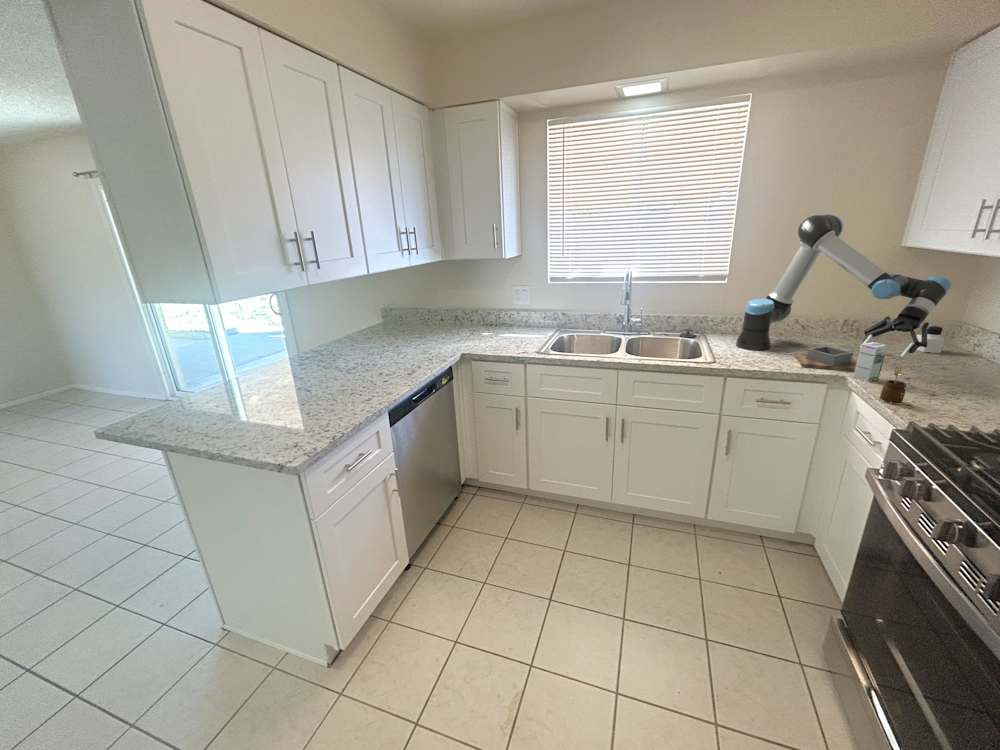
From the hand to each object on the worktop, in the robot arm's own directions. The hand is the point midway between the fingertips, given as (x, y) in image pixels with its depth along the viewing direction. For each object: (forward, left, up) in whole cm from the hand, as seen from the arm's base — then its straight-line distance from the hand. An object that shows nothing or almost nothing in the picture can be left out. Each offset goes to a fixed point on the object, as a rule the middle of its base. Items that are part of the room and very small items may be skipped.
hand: (881, 353), depth 164 cm
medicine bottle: (+34, +51, -11) cm, 62 cm away
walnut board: (-12, +15, -10) cm, 22 cm away
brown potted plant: (-2, -25, -11) cm, 27 cm away
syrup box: (-3, -2, -11) cm, 11 cm away
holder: (-12, +15, -9) cm, 22 cm away
